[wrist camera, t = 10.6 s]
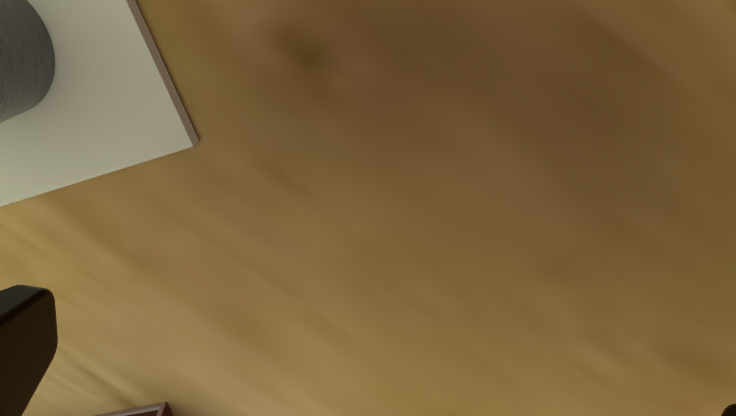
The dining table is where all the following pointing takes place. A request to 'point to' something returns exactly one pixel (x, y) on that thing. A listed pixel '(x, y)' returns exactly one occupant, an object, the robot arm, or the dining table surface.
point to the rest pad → (93, 102)
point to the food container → (144, 411)
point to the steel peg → (23, 58)
